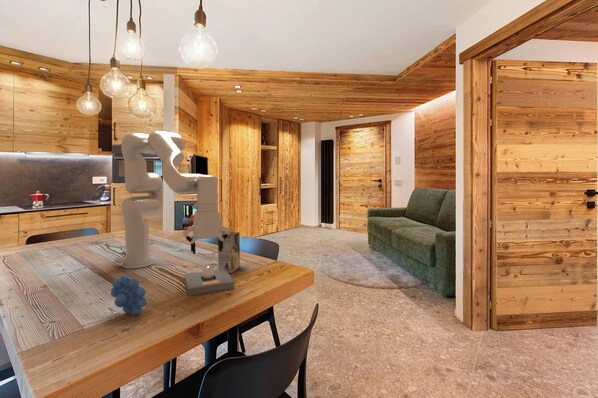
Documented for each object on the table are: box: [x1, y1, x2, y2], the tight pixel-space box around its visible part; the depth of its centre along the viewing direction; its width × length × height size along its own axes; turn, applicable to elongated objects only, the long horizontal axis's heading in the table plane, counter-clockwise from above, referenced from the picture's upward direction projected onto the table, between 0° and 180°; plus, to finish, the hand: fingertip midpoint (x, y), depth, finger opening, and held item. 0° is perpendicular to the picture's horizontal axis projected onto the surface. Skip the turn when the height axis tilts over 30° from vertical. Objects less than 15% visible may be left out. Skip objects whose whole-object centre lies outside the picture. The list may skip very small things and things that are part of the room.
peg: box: [202, 264, 215, 281], centre depth 111 cm, size 4×4×7 cm
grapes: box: [110, 274, 148, 315], centre depth 86 cm, size 12×7×12 cm, turn 81°
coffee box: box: [217, 231, 241, 274], centre depth 128 cm, size 9×6×16 cm
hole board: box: [184, 269, 235, 296], centre depth 112 cm, size 16×16×3 cm
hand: (207, 251), depth 111 cm, fingers open, 9 cm apart
